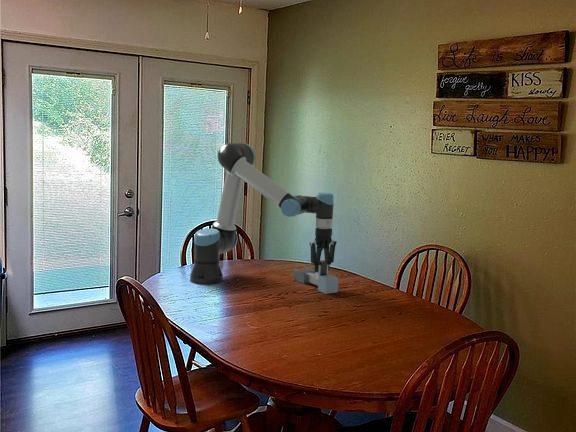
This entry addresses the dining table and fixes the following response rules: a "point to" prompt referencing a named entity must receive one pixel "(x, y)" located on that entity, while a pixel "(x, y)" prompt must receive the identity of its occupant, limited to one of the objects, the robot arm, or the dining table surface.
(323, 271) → the gray bent bar
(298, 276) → the open u-shaped channel
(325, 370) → the dining table surface
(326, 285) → the socket
